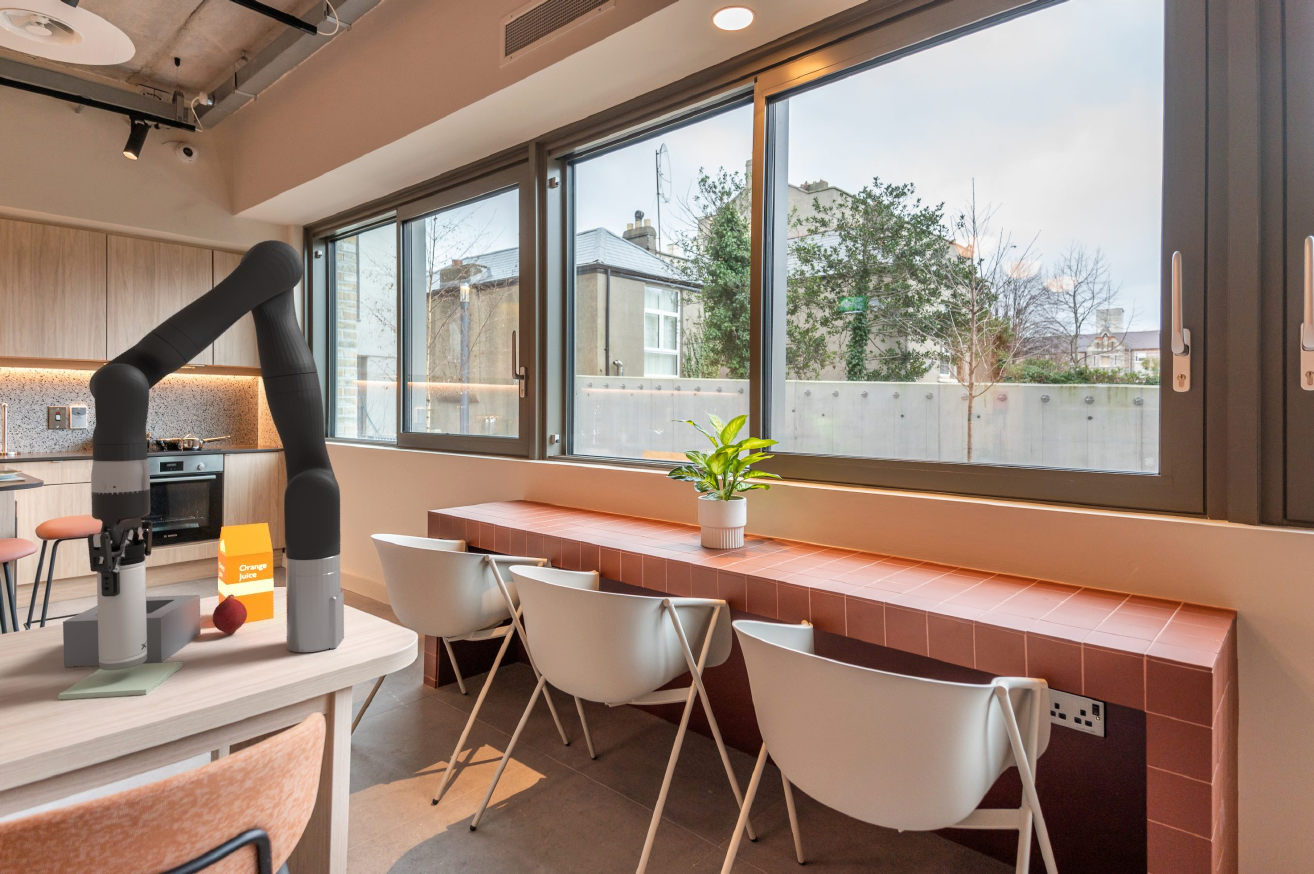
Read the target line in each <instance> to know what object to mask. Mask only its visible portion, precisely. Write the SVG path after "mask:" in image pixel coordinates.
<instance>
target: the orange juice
mask: <svg viewBox="0 0 1314 874" xmlns="http://www.w3.org/2000/svg"><path fill="white" fill-rule="evenodd" d="M217 567H218V569H217V571H218V572H217V574H218V576H217V583H218V584H217V587H218V589H217V590H218V605H219V604H220V603H221V602H222V601H224V600H225V599H226V597H227V596H228V595H229V594H233V595H234V599H236V600H238V601H240V602H241V603H242V604H243V605H244V606H245V608H246V610H247V619H246V621H245V623H244V624H249V623H254V622H259V621H264V620H269V619H268V618H271V619H274V618H275V616H274V615H275V614H274V613H275V612H274V603H275V602H274V591H275V590H274V551H273V545H272V539H271V535H270V529H269V523H268V522H264V523H250V524H242V525H241V524H240V525H227V526H221V531H220V536H219V543H218V550H217Z"/></svg>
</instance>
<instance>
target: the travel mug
mask: <svg viewBox="0 0 1314 874" xmlns="http://www.w3.org/2000/svg"><path fill="white" fill-rule="evenodd" d="M146 543H147V540H146V539H141V540H140V543H139V544H138V545H137V543H136V545H134V546H132V547H129V548H128V549H125V551H126V557H125V558H122V559H121V560H122V561H121V565H120V569H119V571H118V572H120V593H119V594H118V595H116V596H109V597H104V596H102V588H101V573H98V572H96V589H97V593H96V594H97V598H96V599H97V605H98V647H99V666H98V668H99V669H103V670H121V669H127V668H131V667H134V666H137V665H140V664H142V663H143V664H145V663H144V662H145V661H146V660H147V625H146V597H147V583H146V582H147V581H146V579H147V577H146V576H147V575H146V574H147V573H146V571H147V570H146V560H145V556H144V555H145V544H146ZM118 551H119V550H117V551H111V552H118ZM99 562H100V557H98V564H99ZM113 562H114V558H112V563H113Z"/></svg>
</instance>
